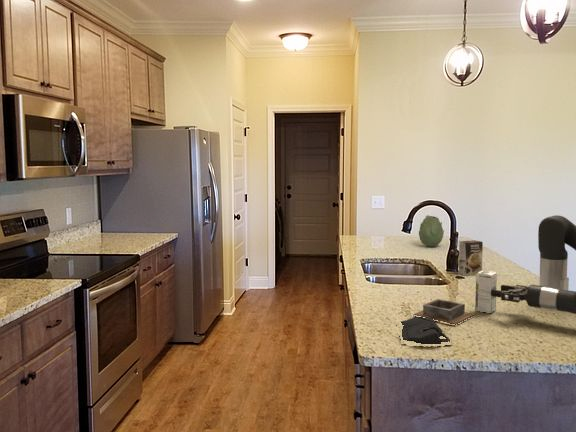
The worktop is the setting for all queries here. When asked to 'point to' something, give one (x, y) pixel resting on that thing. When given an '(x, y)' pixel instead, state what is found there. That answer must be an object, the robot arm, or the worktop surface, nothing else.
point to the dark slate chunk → (422, 331)
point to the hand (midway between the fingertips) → (496, 290)
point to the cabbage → (431, 231)
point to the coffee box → (470, 257)
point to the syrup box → (485, 291)
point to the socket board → (445, 311)
